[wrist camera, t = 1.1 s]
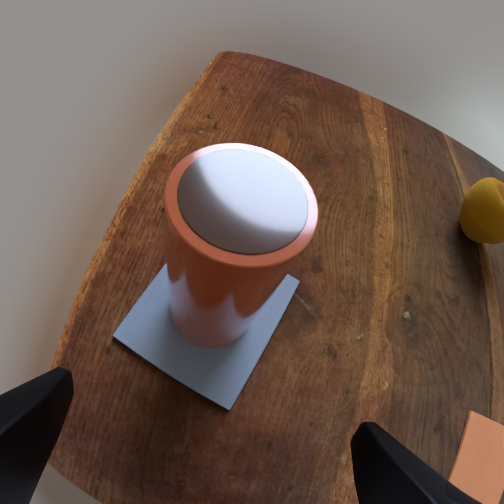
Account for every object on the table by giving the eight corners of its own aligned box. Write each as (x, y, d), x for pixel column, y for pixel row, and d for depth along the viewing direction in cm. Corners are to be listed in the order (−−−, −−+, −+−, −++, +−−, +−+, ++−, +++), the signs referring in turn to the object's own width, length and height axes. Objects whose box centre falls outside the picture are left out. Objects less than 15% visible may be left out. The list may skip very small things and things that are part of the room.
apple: (489, 267, 34) (534, 234, 26) (448, 240, 34) (494, 199, 27) (484, 222, 38) (521, 189, 31) (446, 195, 39) (483, 156, 31)
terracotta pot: (226, 364, 22) (281, 300, 10) (154, 319, 22) (130, 209, 11) (265, 297, 25) (338, 186, 14) (198, 257, 26) (219, 123, 14)
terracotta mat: (481, 536, 16) (484, 537, 15) (421, 535, 16) (424, 536, 16) (517, 433, 23) (519, 433, 22) (468, 410, 24) (471, 410, 23)
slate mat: (228, 410, 21) (229, 410, 20) (113, 336, 21) (112, 335, 21) (298, 283, 27) (299, 281, 27) (198, 224, 28) (198, 222, 27)
